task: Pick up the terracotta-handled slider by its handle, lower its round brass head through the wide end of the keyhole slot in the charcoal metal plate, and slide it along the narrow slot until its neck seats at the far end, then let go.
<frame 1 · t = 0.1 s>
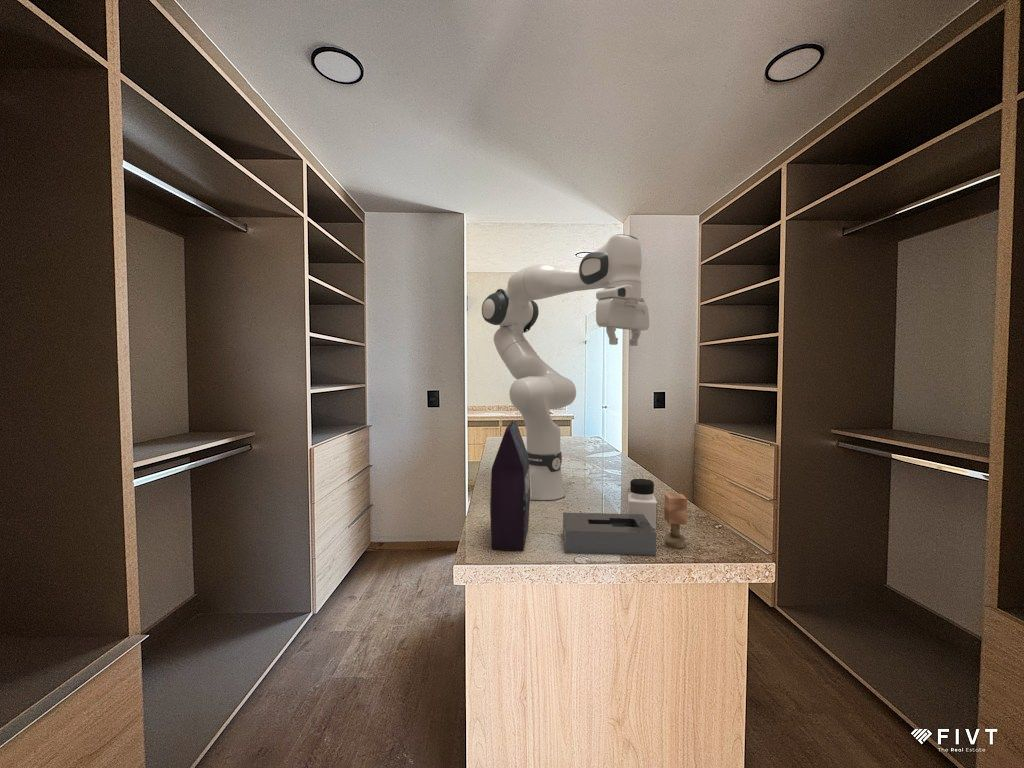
hand: (623, 345, 124), 48 cm above the countertop, tool pointing down, fingers open, 8 cm apart
slider: (674, 544, 106), on the countertop
medicine bottle: (641, 524, 121), on the countertop
keyhole plate: (606, 542, 107), on the countertop
decorative box: (511, 539, 110), on the countertop
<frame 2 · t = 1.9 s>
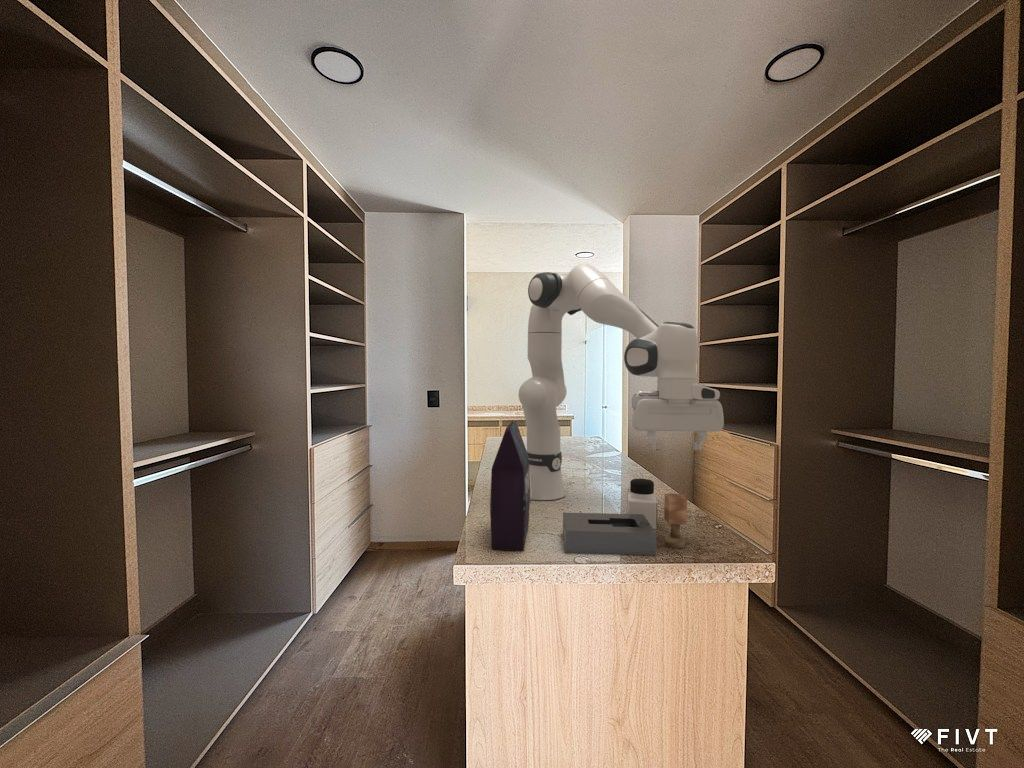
hand: (676, 450, 105), 22 cm above the countertop, tool pointing down, fingers open, 8 cm apart
nothing on the countertop moved.
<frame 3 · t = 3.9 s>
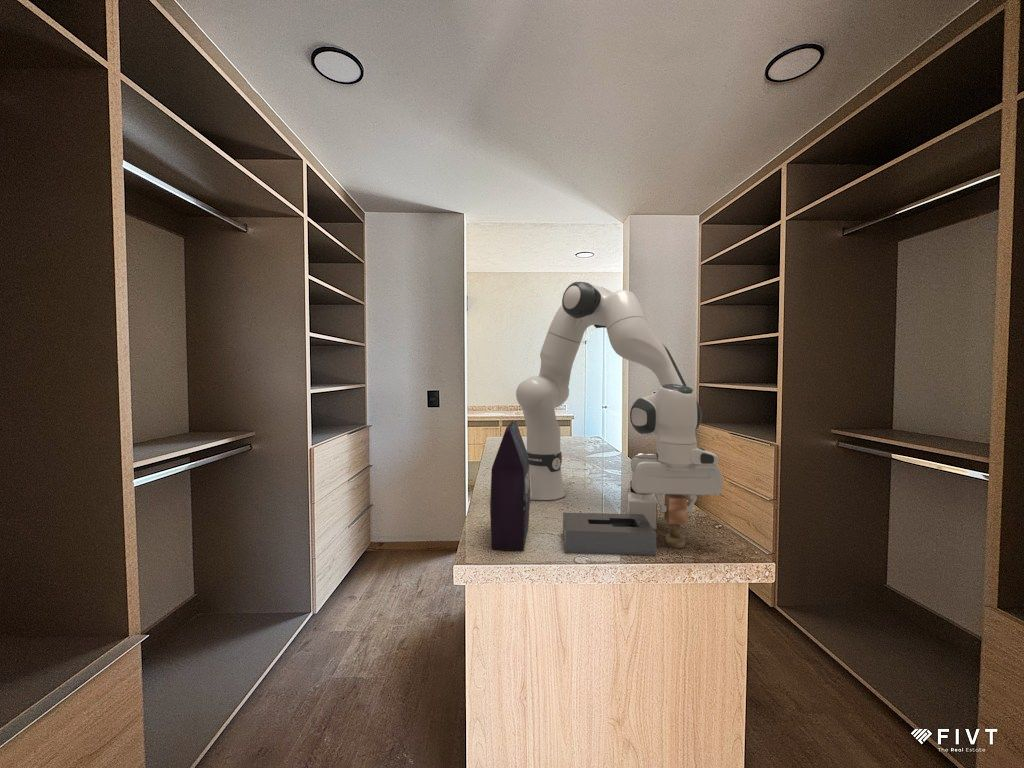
hand: (675, 512, 106), 8 cm above the countertop, tool pointing down, fingers closed on slider, 4 cm apart
slider: (674, 544, 106), on the countertop, touching gripper
everything else where it was.
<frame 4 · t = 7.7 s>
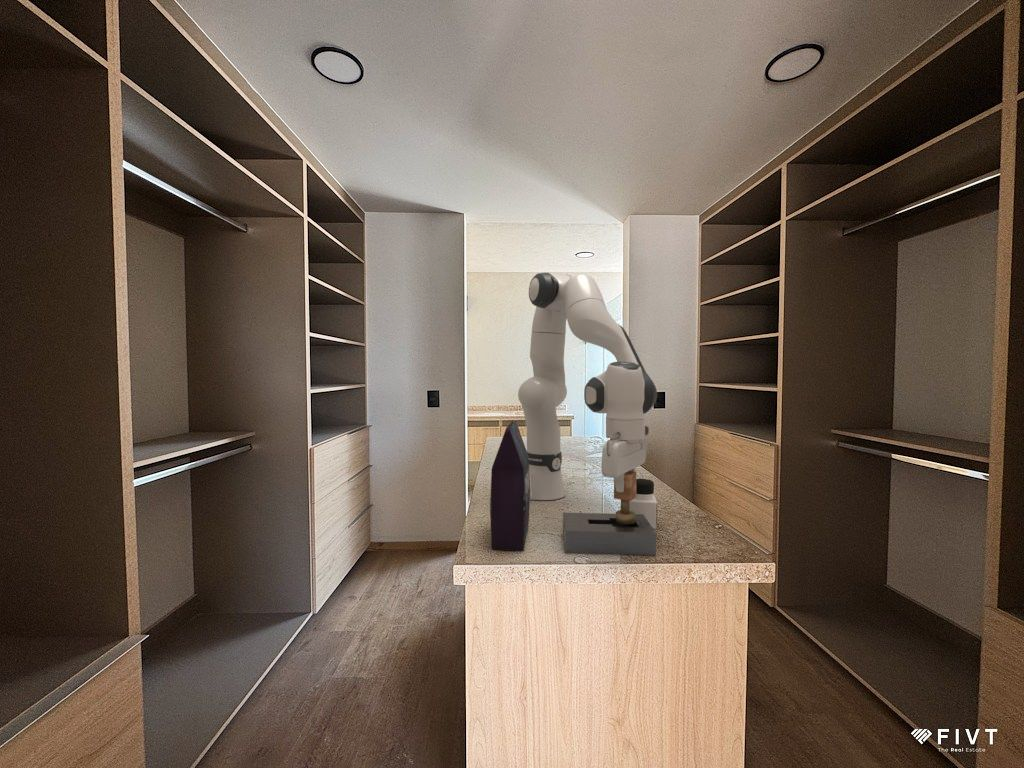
hand: (624, 488, 107), 13 cm above the countertop, tool pointing down, fingers closed on slider, 4 cm apart
slider: (625, 521, 107), point 5 cm above the countertop, touching gripper
everything else where it was.
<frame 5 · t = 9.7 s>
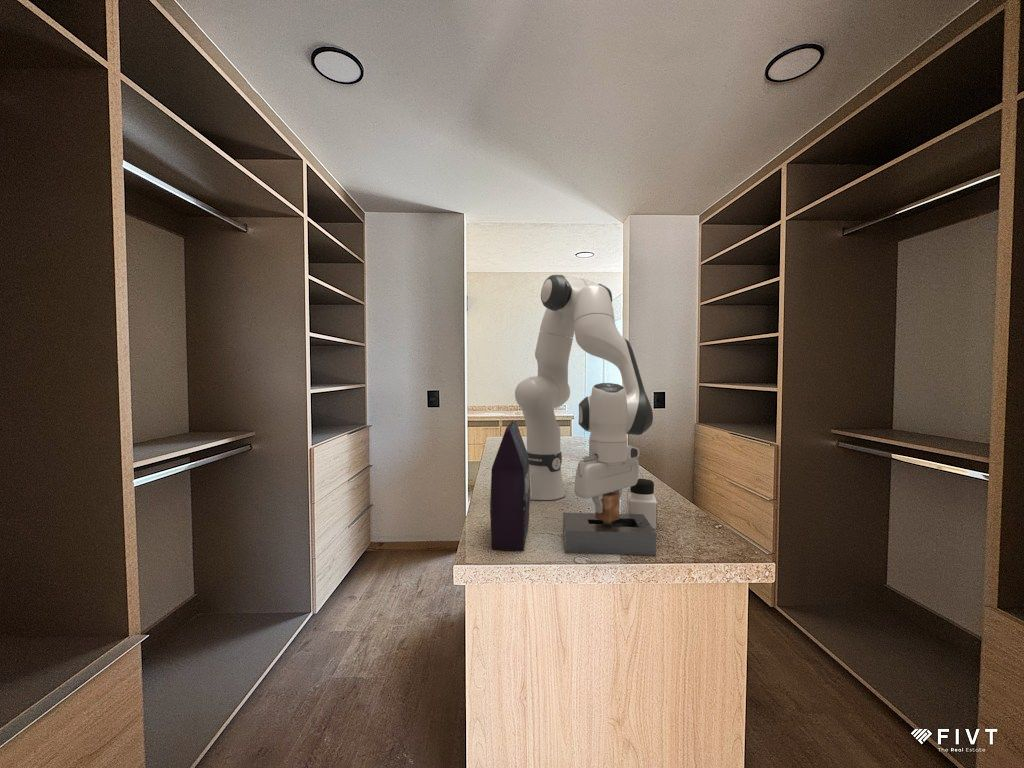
hand: (607, 509, 107), 8 cm above the countertop, tool pointing down, fingers closed on slider, 4 cm apart
slider: (607, 541, 107), resting in keyhole plate, touching gripper
everything else where it was.
when the fingers open (8 cm above the countertop, at t = 11.4 s): slider stays where it is, resting in keyhole plate.
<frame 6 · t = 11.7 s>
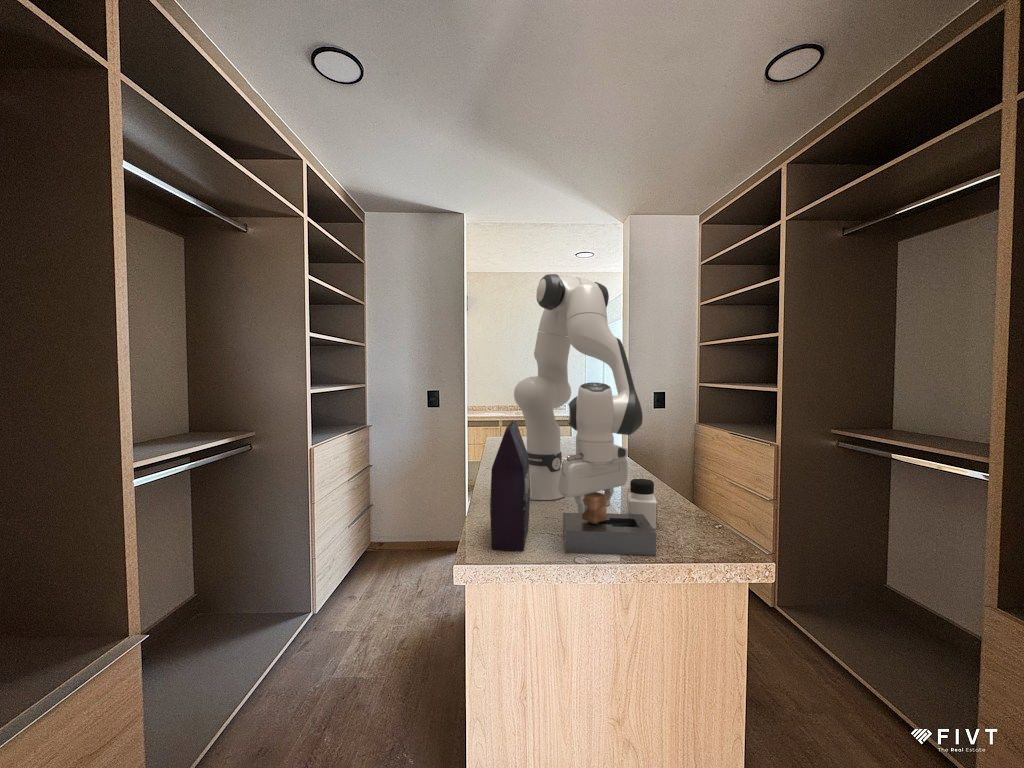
hand: (594, 509, 107), 8 cm above the countertop, tool pointing down, fingers open, 6 cm apart
slider: (593, 542, 107), resting in keyhole plate
everything else where it was.
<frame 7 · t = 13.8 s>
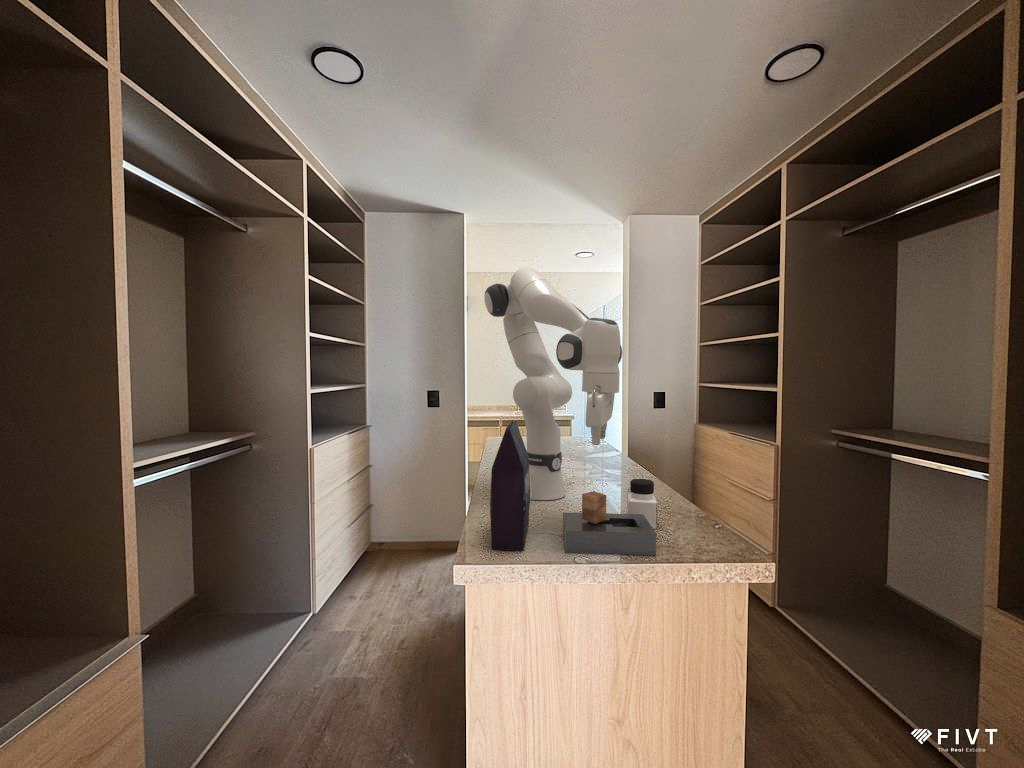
hand: (598, 441, 110), 24 cm above the countertop, tool pointing down, fingers open, 8 cm apart
nothing on the countertop moved.
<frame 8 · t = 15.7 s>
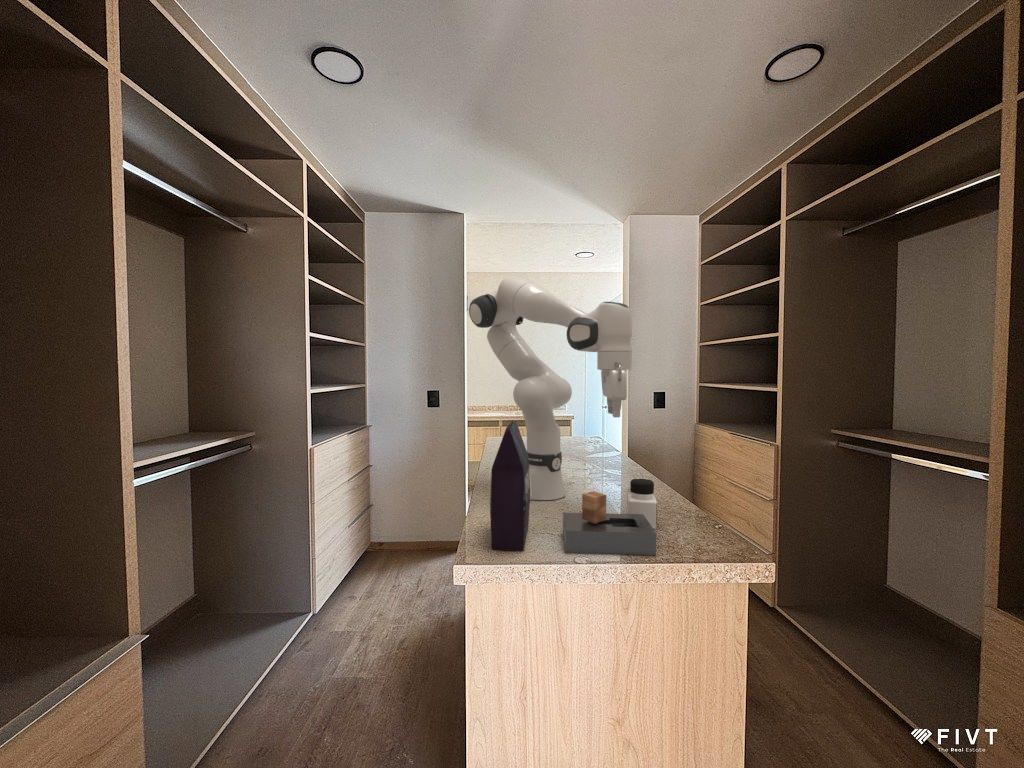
hand: (613, 415, 119), 29 cm above the countertop, tool pointing down, fingers open, 8 cm apart
nothing on the countertop moved.
at the end: slider 0.2 cm from the target spot on the keyhole plate, point 0.0 cm above the keyhole plate's base; slider tilted 0°; the gripper is holding nothing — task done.
